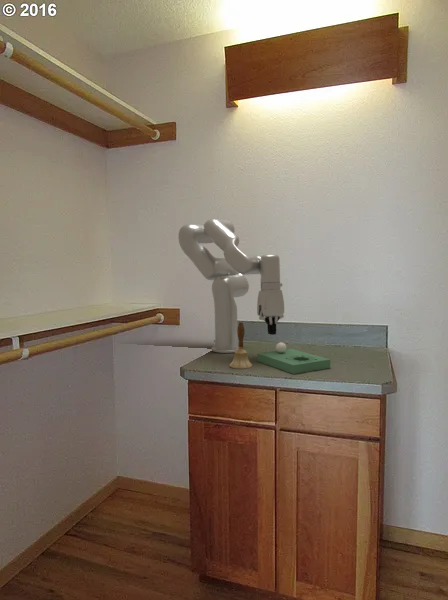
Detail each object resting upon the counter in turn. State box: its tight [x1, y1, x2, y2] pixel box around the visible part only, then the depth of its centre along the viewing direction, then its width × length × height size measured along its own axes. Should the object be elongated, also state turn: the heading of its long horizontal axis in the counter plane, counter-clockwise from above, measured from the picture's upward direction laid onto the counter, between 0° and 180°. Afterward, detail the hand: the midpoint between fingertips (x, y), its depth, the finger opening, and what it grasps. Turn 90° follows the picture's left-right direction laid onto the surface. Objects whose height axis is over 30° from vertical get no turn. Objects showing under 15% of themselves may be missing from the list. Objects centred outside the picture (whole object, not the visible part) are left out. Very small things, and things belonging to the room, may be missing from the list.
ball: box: [275, 341, 287, 353], centre depth 163 cm, size 4×4×4 cm
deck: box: [256, 348, 331, 375], centre depth 158 cm, size 22×16×3 cm
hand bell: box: [228, 321, 253, 370], centre depth 156 cm, size 8×8×16 cm
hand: (272, 334), depth 169 cm, fingers closed
